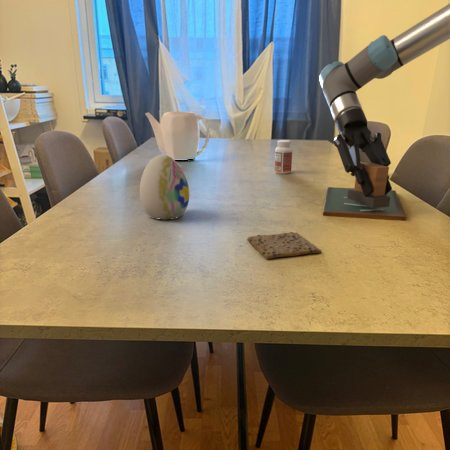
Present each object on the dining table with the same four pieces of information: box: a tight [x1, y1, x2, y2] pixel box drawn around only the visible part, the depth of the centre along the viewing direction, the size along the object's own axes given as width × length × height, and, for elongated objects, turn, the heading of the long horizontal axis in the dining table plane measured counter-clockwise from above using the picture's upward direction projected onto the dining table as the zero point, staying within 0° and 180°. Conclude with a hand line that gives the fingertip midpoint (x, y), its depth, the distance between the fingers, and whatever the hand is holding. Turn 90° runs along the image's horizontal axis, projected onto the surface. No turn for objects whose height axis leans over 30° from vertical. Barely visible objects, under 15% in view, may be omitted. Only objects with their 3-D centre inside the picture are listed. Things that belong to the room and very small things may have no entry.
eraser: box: [347, 161, 391, 208], centre depth 111 cm, size 11×5×10 cm, turn 20°
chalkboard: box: [322, 186, 407, 221], centre depth 120 cm, size 20×28×1 cm
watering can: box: [144, 110, 211, 160], centre depth 181 cm, size 16×27×19 cm, turn 88°
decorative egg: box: [139, 154, 190, 220], centre depth 107 cm, size 12×12×15 cm
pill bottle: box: [273, 139, 293, 175], centre depth 157 cm, size 6×6×11 cm
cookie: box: [246, 231, 323, 260], centre depth 90 cm, size 12×12×1 cm
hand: (378, 192), depth 108 cm, fingers closed on eraser, 5 cm apart
